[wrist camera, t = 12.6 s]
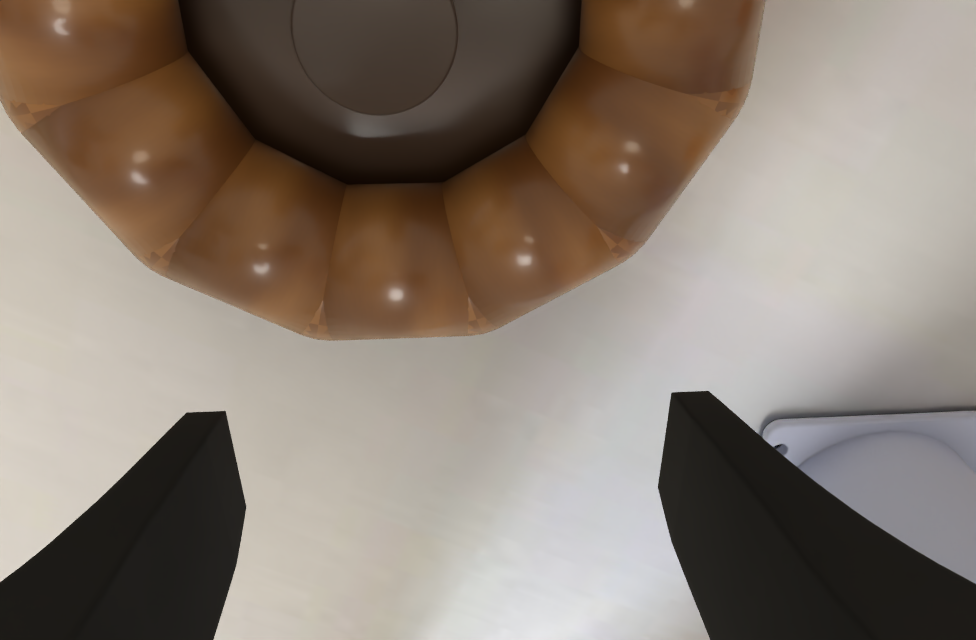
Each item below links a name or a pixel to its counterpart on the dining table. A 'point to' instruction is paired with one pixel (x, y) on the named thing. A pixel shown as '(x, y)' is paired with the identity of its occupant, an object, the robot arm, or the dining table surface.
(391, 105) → the stand
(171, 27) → the ring
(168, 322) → the dining table surface
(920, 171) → the dining table surface
